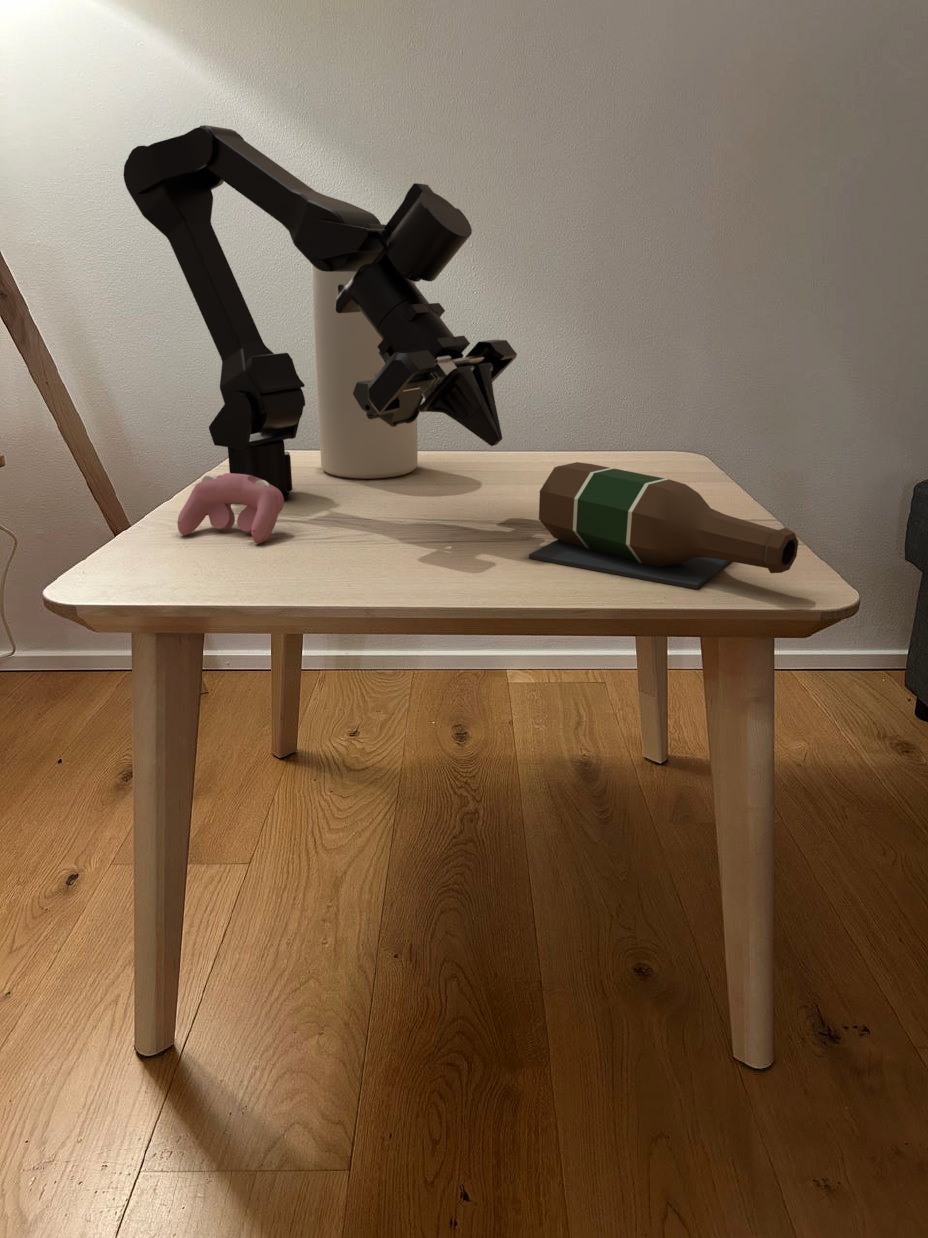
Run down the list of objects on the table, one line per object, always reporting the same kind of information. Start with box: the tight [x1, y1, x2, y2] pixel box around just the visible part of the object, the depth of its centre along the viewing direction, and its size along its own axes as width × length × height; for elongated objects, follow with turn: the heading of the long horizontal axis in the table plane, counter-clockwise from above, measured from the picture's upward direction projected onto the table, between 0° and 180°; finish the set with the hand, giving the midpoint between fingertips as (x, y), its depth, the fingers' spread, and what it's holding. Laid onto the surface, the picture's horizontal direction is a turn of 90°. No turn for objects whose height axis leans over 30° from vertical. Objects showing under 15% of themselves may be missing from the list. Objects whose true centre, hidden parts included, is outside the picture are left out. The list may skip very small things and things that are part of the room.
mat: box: [528, 539, 732, 590], centre depth 87 cm, size 16×12×1 cm
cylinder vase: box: [310, 264, 419, 480], centre depth 118 cm, size 12×12×25 cm
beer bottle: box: [538, 461, 800, 574], centre depth 83 cm, size 8×8×24 cm
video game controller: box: [176, 472, 285, 545], centre depth 93 cm, size 10×5×7 cm, turn 71°
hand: (497, 442), depth 90 cm, fingers closed
